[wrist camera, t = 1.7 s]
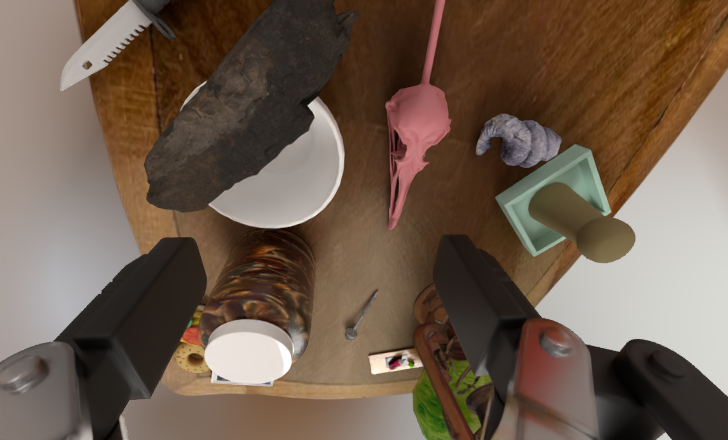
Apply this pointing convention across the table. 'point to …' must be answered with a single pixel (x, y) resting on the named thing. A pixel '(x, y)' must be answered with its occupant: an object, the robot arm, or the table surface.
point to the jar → (259, 308)
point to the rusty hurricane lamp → (425, 343)
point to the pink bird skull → (416, 123)
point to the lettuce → (431, 409)
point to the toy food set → (191, 347)
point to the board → (394, 360)
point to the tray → (565, 168)
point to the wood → (249, 104)
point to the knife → (113, 38)
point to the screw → (352, 332)
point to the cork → (581, 223)
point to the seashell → (519, 140)
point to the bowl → (290, 178)
